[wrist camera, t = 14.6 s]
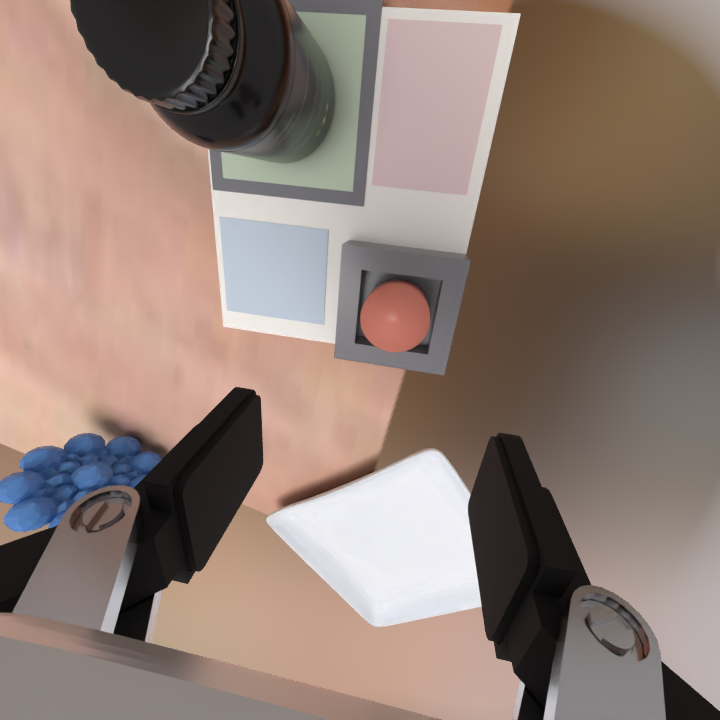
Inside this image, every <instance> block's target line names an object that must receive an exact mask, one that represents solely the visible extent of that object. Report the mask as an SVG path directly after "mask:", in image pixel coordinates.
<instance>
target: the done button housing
mask: <svg viewBox="0 0 720 720" xmlns="http://www.w3.org/2000/svg"><path fill="white" fill-rule="evenodd" d="M470 262H471V260H470V258H469V257H468V256H467V255H466V254H461V253H453V252H445V251H436V250H428V249H420V248H412V247H404V246H395V245H387V244H379V243H371V242H363V241H354V240H348V241H347V242H345V243H343V244H342V251H341V265H340V280H339V295H338V309H337V324H336V339H335V353H334V358H337V359H344V360H350V361H356V362H363V363H369V364H375V365H382V366H388V367H394V368H400V369H407V370H413V371H420V372H426V373H433V374H439V375H444V374H445V369H446V365H447V361H448V357H449V352H450V348H451V344H452V340H453V335H454V331H455V327H456V322H457V318H458V314H459V310H460V305H461V301H462V297H463V292H464V289H465V284H466V280H467V276H468V271H469V267H470ZM391 279H403V280H407V281H410V282H412V283H414V284H415V285H417V286H418V287H419V288H420V289H421V290H422V291H423V292H424V294H425V295H426V297H427V299H428V303H429V310H430V326H429V329H428V332H427V334H426V336H425V338H424V339H423V340H422V341H421V342H420V343H419V344H418V345H417V346H415V347H414V348H412V349H410V350H407V351H403V352H388V351H384V350H381V349H379V348H377V347H376V346H374V345H373V344H372V343H371V342H370V341H369V340H368V339H367V338H366V336H365V335H364V333H363V330H362V327H361V322H360V315H361V310H362V307H363V305H364V303H365V301H366V299H367V297H368V296H369V294H370V292H371V291H372V290H373V289H374V288H375V287H376V286H377V285H379V284H380V283H382V282H384V281H387V280H391Z"/></svg>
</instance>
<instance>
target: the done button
mask: <svg viewBox="0 0 720 720" xmlns="http://www.w3.org/2000/svg"><path fill="white" fill-rule="evenodd" d="M360 322H361V327H362V330H363V333H364V335H365V336H366V338H367V339H368V340H369V341H370V342H371V343H372V344H373V345H374V346H376V347H377V348H379V349H381V350H384V351H388V352H403V351H407V350H410V349H412V348H414V347H415V346H417V345H418V344H419V343H420V342H421V341H422V340H423V339H424V338H425V336H426V334H427V332H428V329H429V326H430V310H429V303H428V299H427V297H426V295H425V294H424V292H423V291H422V290H421V289H420V288H419V287H418V286H417V285H415V284H414V283H412V282H410V281H407V280H403V279H391V280H387V281H384V282H382V283H380V284H379V285H377V286H376V287H375V288H374V289H373V290H372V291H371V292H370V294H369V296H368V297H367V299H366V301H365V303H364V305H363V307H362V310H361V315H360Z"/></svg>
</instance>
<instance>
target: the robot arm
mask: <svg viewBox="0 0 720 720" xmlns="http://www.w3.org/2000/svg"><path fill="white" fill-rule="evenodd" d="M262 465H263V442H262V418H261V398H260V396H259V395H256V392H255V391H254V390H251V389H246V388H240V387H235V388H234V389H233V390H232V391H231V392H230V393H229V394H228V395H227V396H226V397H225V398H224V399H223V400H222V401H221V402H220V403H219V404H218V405H217V406H216V407H215V408H214V409H213V410H212V411H211V412H210V413H209V414H208V415H207V416H206V417H205V418H204V419H203V420H202V421H201V422H200V423H199V424H198V425H196V426H195V427H194V428H193V429H192V430H191V431H190V432H189V433H188V434H187V435H186V436H185V437H184V438H183V439H182V440H181V441H180V442H179V443H178V444H177V445H176V446H175V447H174V448H173V449H172V450H171V451H170V452H169V453H168V454H167V455H166V456H165V457H164V458H163V459H162V460H161V461H160V462H159V463H158V464H157V465H156V466H155V467H154V468H153V469H152V470H151V471H150V472H149V473H148V474H147V475H146V476H145V477H144V478H143V479H142V480H141V481H140V482H139V483H138V484H137V485H136V486H135V487H134V488H132V487H128V486H124V485H117V486H109V487H105V488H101V489H98V490H96V491H93V492H91V493H89V494H87V495H85V496H84V497H82V498H80V499H79V500H77V501H76V502H75V503H74V504H73V505H72V506H71V507H69V508H68V510H67V511H66V513H65V514H64V515H63V517H62V519H61V521H60V522H59V524H58V525H57V526H55V527H52V528H49V529H46V530H43V531H40V532H38V533H35V534H32V535H29V536H27V537H24V538H21V539H18V540H15V541H12V542H10V543H7V544H4V545H1V546H0V720H441V719H437V718H433V717H429V716H426V715H422V714H418V713H415V712H411V711H407V710H403V709H400V708H396V707H392V706H389V705H385V704H381V703H377V702H374V701H370V700H366V699H362V698H359V697H355V696H351V695H347V694H343V693H340V692H336V691H332V690H328V689H324V688H321V687H317V686H313V685H309V684H306V683H302V682H298V681H294V680H290V679H286V678H283V677H279V676H275V675H271V674H267V673H264V672H259V671H256V670H252V669H248V668H244V667H241V666H237V665H233V664H229V663H226V662H222V661H218V660H214V659H210V658H206V657H202V656H198V655H194V654H190V653H187V652H183V651H179V650H175V649H171V648H167V647H163V646H159V645H156V644H152V640H153V635H154V630H155V624H156V619H157V613H158V609H159V604H160V598H161V593H162V590H163V589H165V588H167V587H168V585H169V584H170V582H171V581H172V580H174V581H178V582H182V583H186V584H188V583H189V581H190V579H191V578H192V576H193V574H194V573H195V571H198V572H199V571H201V570H202V569H203V568H204V566H205V565H206V563H207V561H208V560H209V558H210V556H211V555H212V553H213V551H214V550H215V548H216V546H217V544H218V543H219V541H220V539H221V538H222V536H223V534H224V532H225V531H226V529H227V527H228V526H229V524H230V522H231V521H232V519H233V517H234V515H235V514H236V512H237V510H238V509H239V507H240V505H241V504H242V502H243V500H244V499H245V497H246V495H247V493H248V492H249V490H250V488H251V487H252V485H253V483H254V482H255V480H256V478H257V476H258V475H259V473H260V471H261V469H262ZM468 517H469V524H470V531H471V537H472V544H473V551H474V558H475V564H476V571H477V578H478V585H479V591H480V598H481V605H482V612H483V618H484V625H485V632H486V636H487V638H488V640H490V641H494V646H495V652H496V658H498V659H502V660H506V661H510V662H512V666H513V670H514V673H515V674H516V675H517V676H518V678H519V679H520V680H521V681H520V686H519V690H518V695H517V699H516V703H515V708H514V713H513V717H512V720H720V711H719V710H717V709H716V708H715V707H714V706H713V705H712V704H710V703H709V702H708V701H707V700H706V699H705V698H703V697H702V696H701V695H700V694H699V693H698V692H696V691H695V690H694V689H693V688H692V687H691V686H690V685H688V684H687V683H686V682H685V681H684V680H682V679H681V678H680V677H679V676H678V675H677V674H675V673H674V672H673V671H672V670H671V669H669V667H667V666H666V665H665V664H664V663H663V662H662V661H661V653H660V649H659V645H658V642H657V639H656V637H655V635H654V633H653V631H652V630H651V628H650V626H649V625H648V624H647V622H646V621H645V620H644V618H643V617H642V616H641V615H640V613H639V612H637V611H636V610H635V609H634V608H633V607H632V606H631V605H630V604H629V603H628V602H627V601H625V600H623V599H622V598H621V597H619V596H618V595H616V594H615V593H613V592H610V591H609V590H606V589H604V588H602V587H598V586H593V585H591V583H590V581H589V579H588V577H587V574H586V572H585V570H584V567H583V565H582V563H581V561H580V558H579V556H578V554H577V551H576V549H575V547H574V545H573V542H572V540H571V538H570V536H569V533H568V531H567V529H566V526H565V524H564V522H563V520H562V517H561V515H560V513H559V510H558V508H557V506H556V504H555V501H554V499H553V497H552V495H551V493H550V491H549V490H548V489H547V488H544V487H541V484H540V482H539V479H538V476H537V474H536V472H535V469H534V467H533V465H532V462H531V460H530V458H529V455H528V453H527V450H526V448H525V445H524V443H523V441H522V439H521V437H520V436H516V435H511V434H505V433H498V435H497V437H493V436H492V437H490V440H489V442H488V445H487V448H486V451H485V454H484V457H483V460H482V463H481V466H480V469H479V472H478V475H477V478H476V481H475V484H474V487H473V490H472V493H471V496H470V499H469V502H468Z"/></svg>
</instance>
